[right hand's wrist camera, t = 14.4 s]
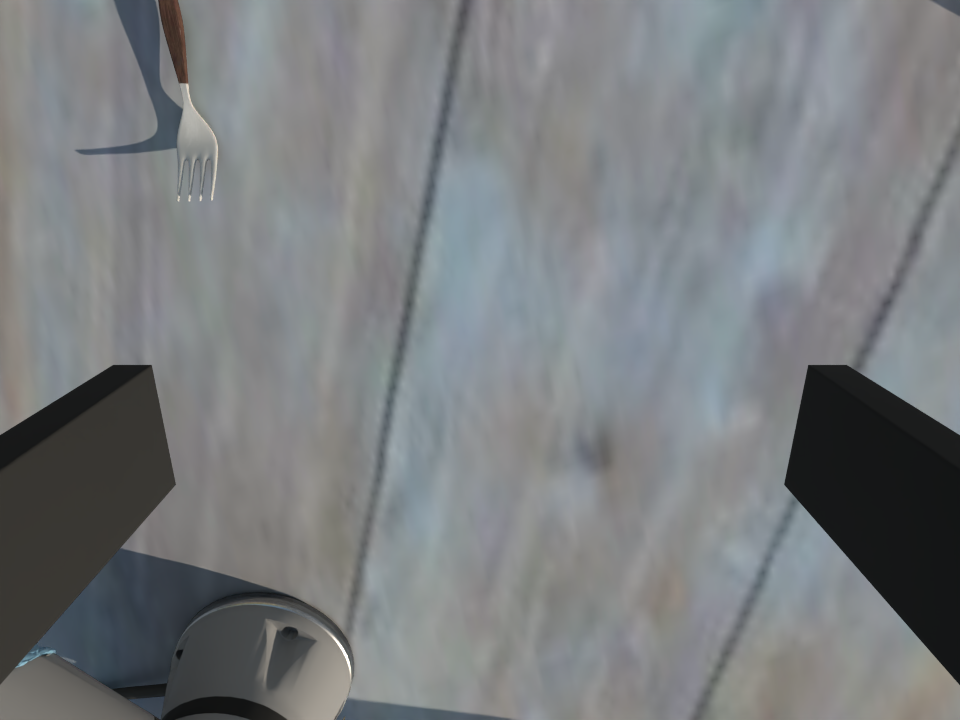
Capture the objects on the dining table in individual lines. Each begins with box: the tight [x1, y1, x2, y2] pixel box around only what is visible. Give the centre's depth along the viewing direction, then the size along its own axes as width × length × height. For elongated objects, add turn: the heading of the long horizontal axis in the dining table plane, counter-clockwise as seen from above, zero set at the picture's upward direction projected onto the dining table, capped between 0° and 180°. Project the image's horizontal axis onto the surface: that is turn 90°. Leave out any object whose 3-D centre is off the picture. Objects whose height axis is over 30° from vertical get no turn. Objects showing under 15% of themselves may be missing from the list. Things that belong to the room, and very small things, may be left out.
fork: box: [158, 0, 218, 202], centre depth 36 cm, size 3×16×2 cm, turn 2°
